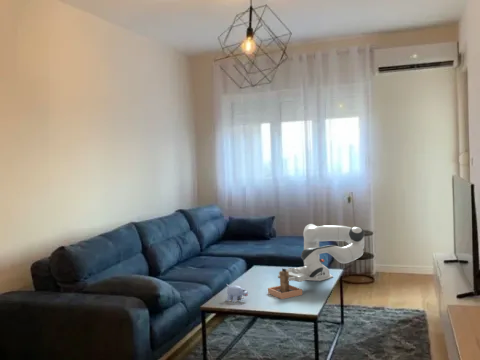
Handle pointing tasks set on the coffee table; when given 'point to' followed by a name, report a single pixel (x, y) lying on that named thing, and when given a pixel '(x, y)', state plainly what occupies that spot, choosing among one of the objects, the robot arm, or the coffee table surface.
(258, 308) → the coffee table surface
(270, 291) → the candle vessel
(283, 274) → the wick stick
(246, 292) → the hippopotamus toy
